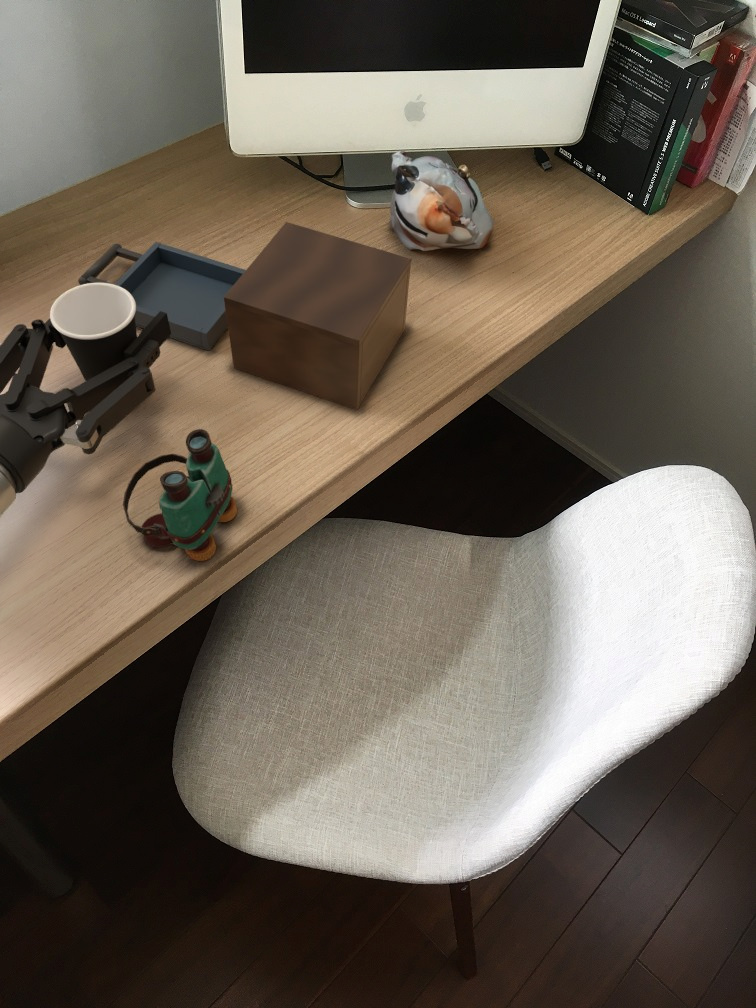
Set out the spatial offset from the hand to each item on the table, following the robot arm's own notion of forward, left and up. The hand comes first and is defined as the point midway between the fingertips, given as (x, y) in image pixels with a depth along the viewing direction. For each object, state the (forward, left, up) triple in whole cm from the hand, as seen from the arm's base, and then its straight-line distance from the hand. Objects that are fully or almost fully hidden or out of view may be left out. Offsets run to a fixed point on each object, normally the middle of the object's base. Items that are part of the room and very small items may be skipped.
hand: (129, 310), depth 80 cm
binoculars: (+15, -17, -7) cm, 24 cm away
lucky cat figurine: (+22, +35, -7) cm, 42 cm away
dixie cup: (0, -5, -7) cm, 9 cm away
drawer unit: (+17, +10, -7) cm, 21 cm away
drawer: (-3, +10, -7) cm, 13 cm away
